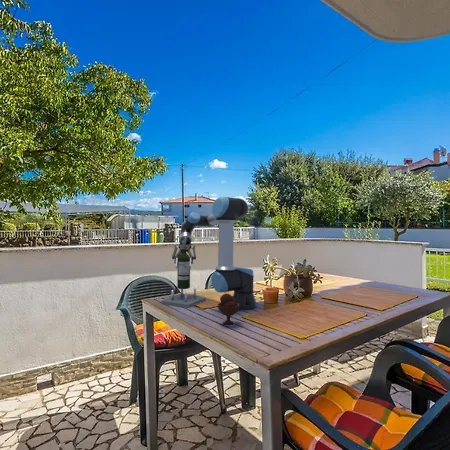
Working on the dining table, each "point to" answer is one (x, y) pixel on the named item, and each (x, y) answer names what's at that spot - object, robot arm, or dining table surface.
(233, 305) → the ice cream bowl
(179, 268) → the wine bottle
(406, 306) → the dining table surface
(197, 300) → the peg stand
